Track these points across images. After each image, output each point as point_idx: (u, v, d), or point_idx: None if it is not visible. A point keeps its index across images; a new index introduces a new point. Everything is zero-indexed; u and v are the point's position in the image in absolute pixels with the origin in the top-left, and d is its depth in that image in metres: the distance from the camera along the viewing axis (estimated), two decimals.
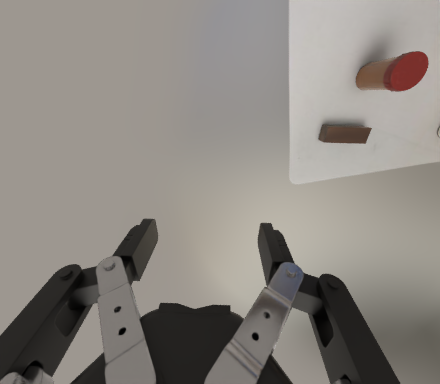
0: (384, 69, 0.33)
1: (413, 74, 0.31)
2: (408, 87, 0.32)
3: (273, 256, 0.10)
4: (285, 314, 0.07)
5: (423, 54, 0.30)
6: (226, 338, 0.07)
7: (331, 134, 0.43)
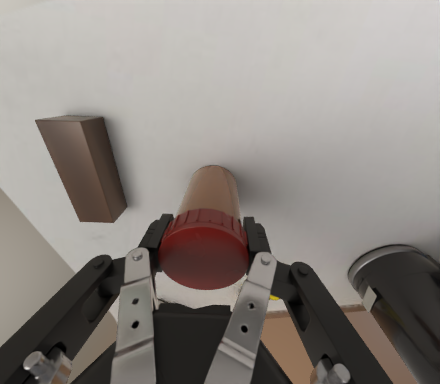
0: (214, 205, 0.12)
1: (198, 271, 0.12)
2: (168, 272, 0.12)
3: (251, 246, 0.11)
4: (267, 300, 0.07)
5: (241, 274, 0.12)
6: None
7: (64, 136, 0.15)
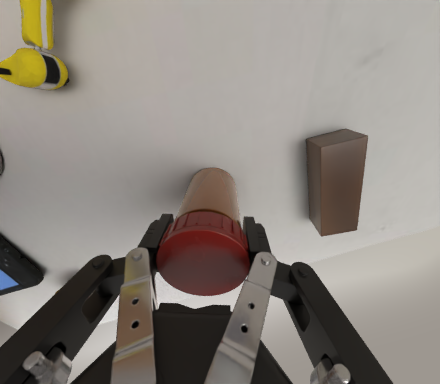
0: None
1: (197, 276, 0.11)
2: (166, 277, 0.11)
3: (251, 246, 0.11)
4: (267, 301, 0.07)
5: (241, 280, 0.11)
6: None
7: (338, 225, 0.18)
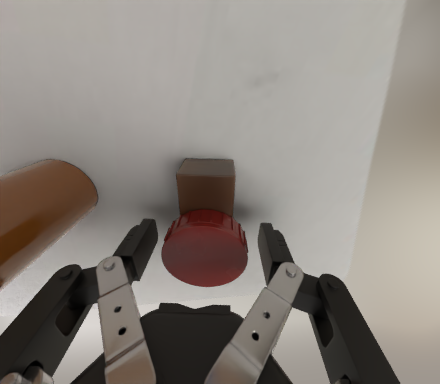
0: None
1: (199, 269, 0.12)
2: (171, 269, 0.12)
3: (273, 256, 0.10)
4: (285, 314, 0.07)
5: (240, 272, 0.12)
6: (226, 338, 0.07)
7: None
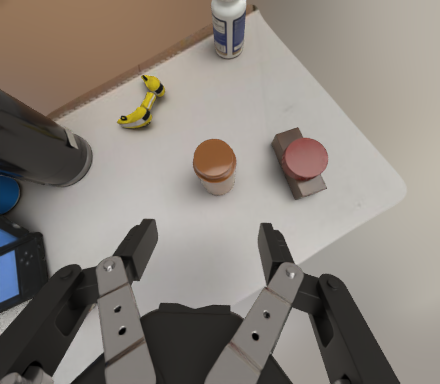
0: (217, 184, 0.21)
1: (306, 163, 0.24)
2: (293, 169, 0.24)
3: (273, 256, 0.10)
4: (285, 314, 0.07)
5: (326, 158, 0.24)
6: (226, 338, 0.07)
7: (310, 184, 0.25)
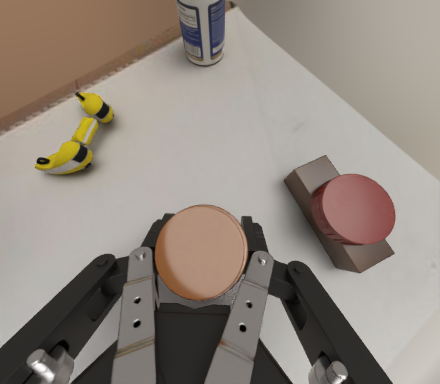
0: None
1: (361, 219, 0.14)
2: (342, 231, 0.14)
3: (248, 245, 0.11)
4: (265, 299, 0.07)
5: (391, 206, 0.14)
6: None
7: (367, 250, 0.15)
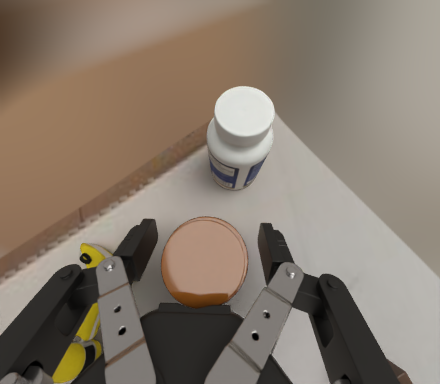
0: None
1: None
2: None
3: (273, 256, 0.10)
4: (285, 314, 0.07)
5: None
6: (226, 338, 0.07)
7: None
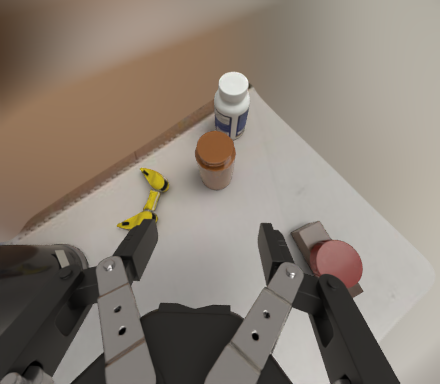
0: (219, 172, 0.23)
1: (341, 271, 0.22)
2: None
3: (273, 256, 0.10)
4: (285, 314, 0.07)
5: (360, 263, 0.22)
6: (226, 338, 0.07)
7: None
